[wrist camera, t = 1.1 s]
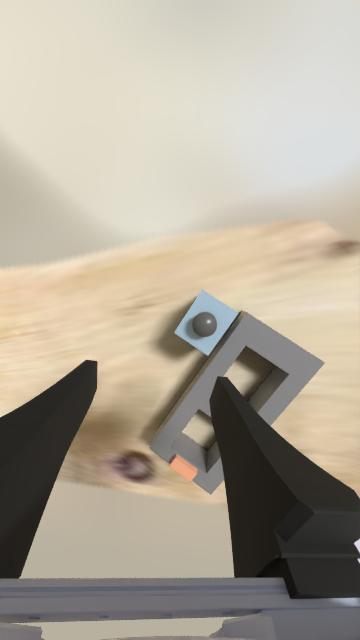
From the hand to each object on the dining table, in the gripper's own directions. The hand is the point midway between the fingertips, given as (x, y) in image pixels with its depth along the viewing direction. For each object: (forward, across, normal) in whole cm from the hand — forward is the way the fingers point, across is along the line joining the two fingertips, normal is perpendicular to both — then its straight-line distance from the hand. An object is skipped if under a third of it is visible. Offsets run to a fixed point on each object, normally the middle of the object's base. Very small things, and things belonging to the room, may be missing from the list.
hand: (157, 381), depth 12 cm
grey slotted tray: (+9, -10, +9) cm, 16 cm away
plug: (+13, -6, +1) cm, 14 cm away
